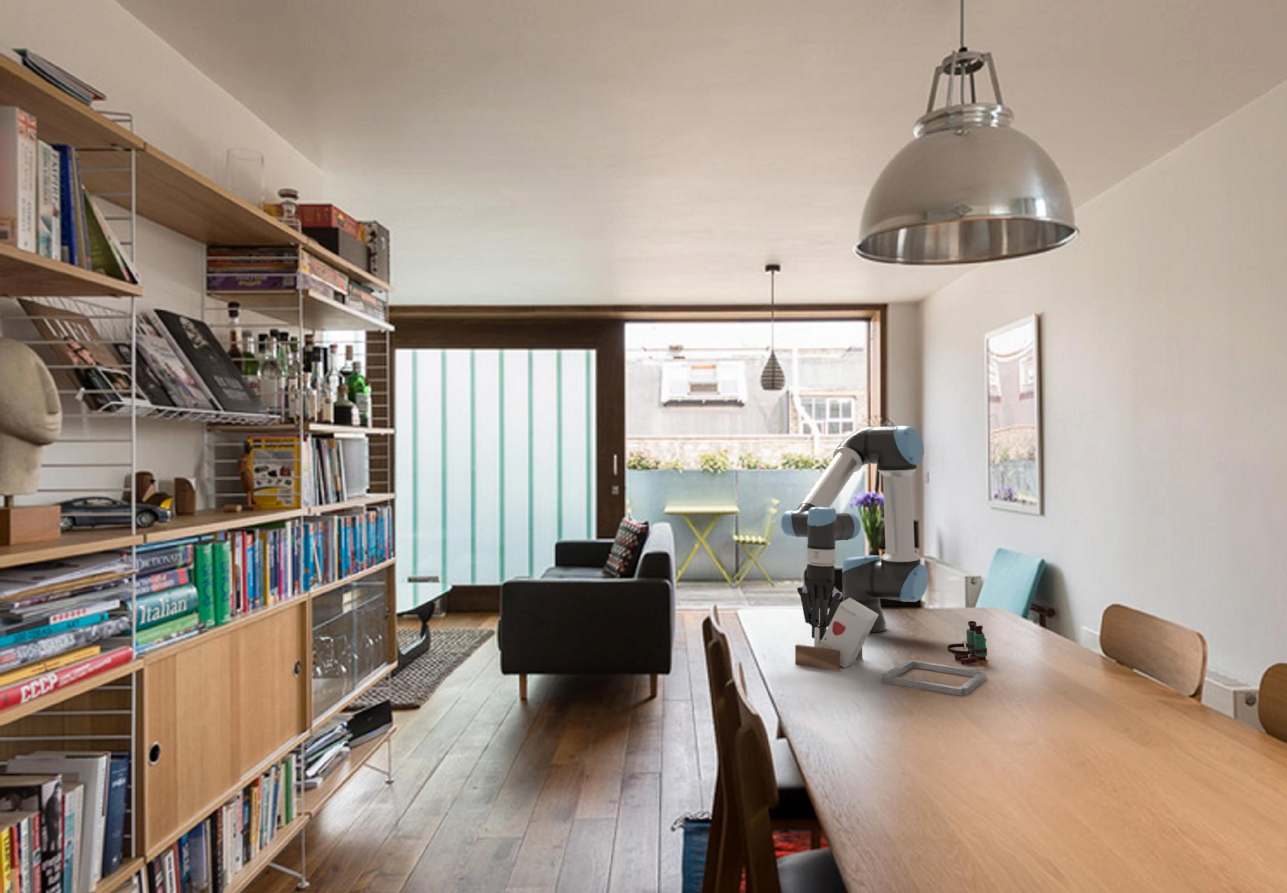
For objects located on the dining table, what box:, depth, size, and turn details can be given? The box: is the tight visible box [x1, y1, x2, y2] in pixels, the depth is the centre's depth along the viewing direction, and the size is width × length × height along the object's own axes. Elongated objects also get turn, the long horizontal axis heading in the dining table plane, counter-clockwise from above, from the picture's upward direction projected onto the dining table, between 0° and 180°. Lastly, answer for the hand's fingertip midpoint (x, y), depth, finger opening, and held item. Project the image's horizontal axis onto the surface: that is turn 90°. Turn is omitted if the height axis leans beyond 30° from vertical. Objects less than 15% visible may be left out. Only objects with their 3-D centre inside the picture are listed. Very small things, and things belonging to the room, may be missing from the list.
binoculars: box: [946, 620, 989, 666], centre depth 223 cm, size 9×11×10 cm
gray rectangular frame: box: [881, 659, 987, 697], centre depth 206 cm, size 20×20×2 cm
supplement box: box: [818, 598, 879, 668], centre depth 221 cm, size 9×9×15 cm
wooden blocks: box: [794, 643, 863, 672], centre depth 224 cm, size 16×12×5 cm
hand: (818, 650), depth 225 cm, fingers closed
